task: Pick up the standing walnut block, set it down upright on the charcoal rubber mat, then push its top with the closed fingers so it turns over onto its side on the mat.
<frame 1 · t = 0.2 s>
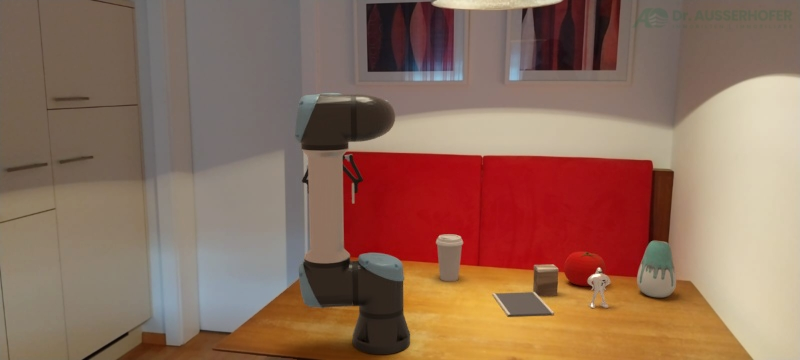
hand: (333, 203, 198), 28 cm above the table, fingers open, 13 cm apart
mat: (521, 304, 182), on the table
vase: (655, 294, 191), on the table
figurine: (597, 306, 181), on the table
block: (545, 293, 192), on the table
tomato: (584, 284, 201), on the table
coffee cup: (449, 279, 207), on the table
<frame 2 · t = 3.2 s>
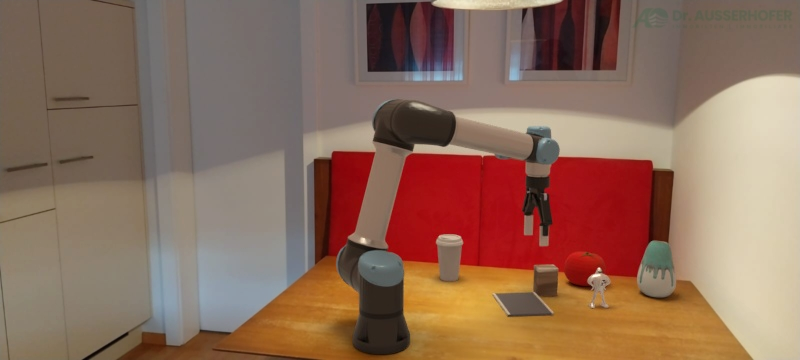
hand: (535, 240, 190), 18 cm above the table, fingers open, 13 cm apart
nothing on the table moved.
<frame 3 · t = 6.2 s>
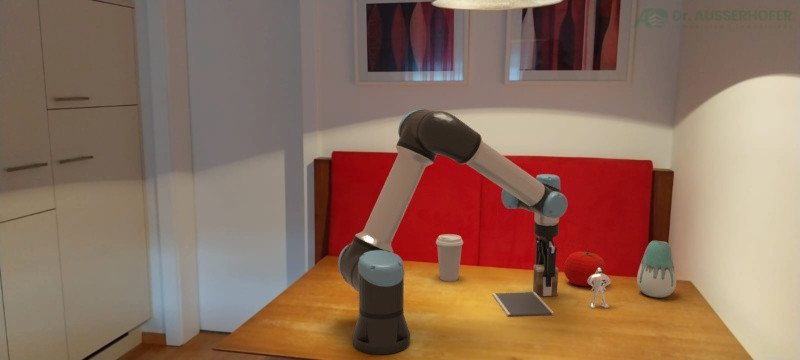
hand: (544, 292, 192), 0 cm above the table, fingers closed on block, 4 cm apart
block: (544, 293, 192), on the table, touching gripper
everything else where it was.
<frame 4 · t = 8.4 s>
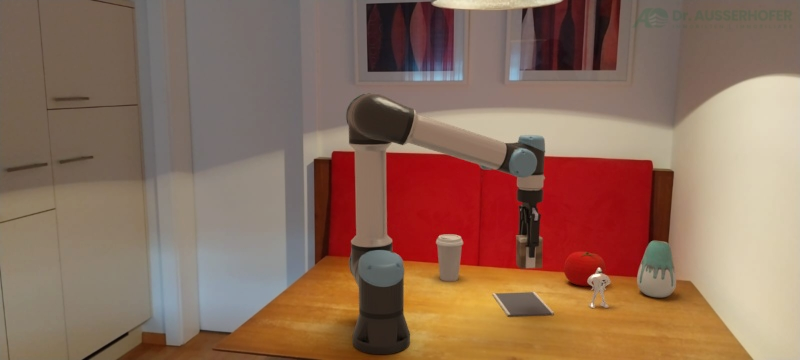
hand: (527, 264, 176), 14 cm above the table, fingers closed on block, 4 cm apart
block: (529, 266, 176), point 14 cm above the table, touching gripper
everything else where it was.
when the fingers open (1 cm above the table, at t = 10.8 s): block stays where it is, resting on mat.
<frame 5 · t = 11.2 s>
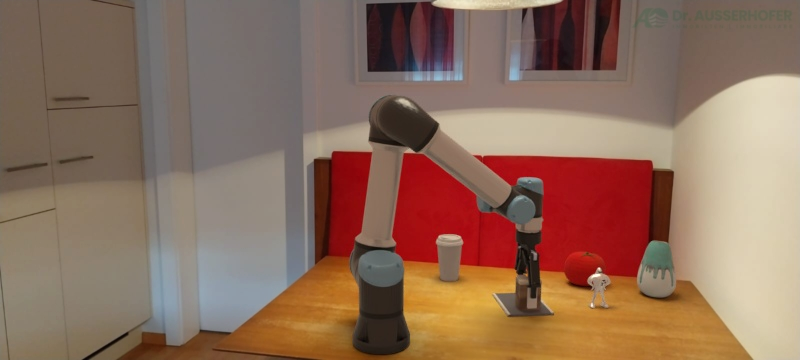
hand: (526, 301, 178), 3 cm above the table, fingers open, 10 cm apart
block: (527, 307, 178), point 1 cm above the table, touching mat
everything else where it was.
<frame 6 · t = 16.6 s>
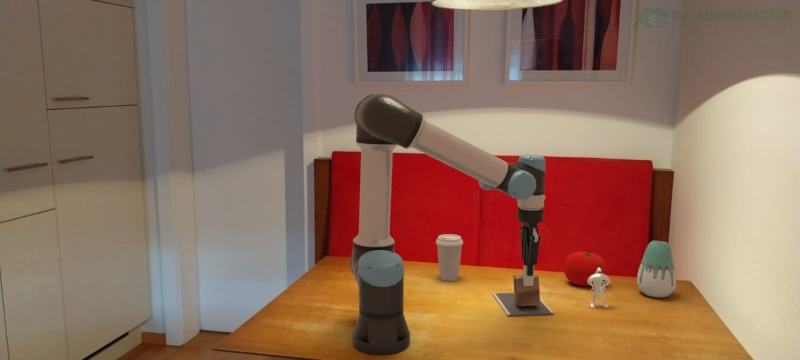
hand: (528, 284, 176), 8 cm above the table, fingers closed
block: (527, 305, 178), point 1 cm above the table, tilted 18°, touching gripper, mat
everything else where it was.
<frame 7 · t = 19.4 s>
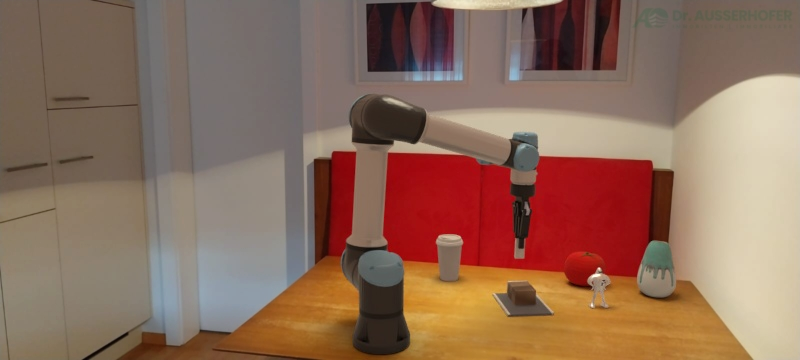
hand: (519, 257, 183), 14 cm above the table, fingers closed
block: (525, 297, 180), point 3 cm above the table, tilted 90°, touching mat
everything else where it was.
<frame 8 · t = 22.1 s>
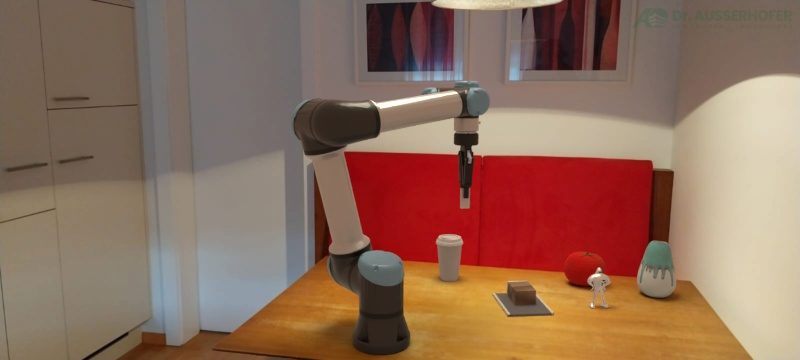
hand: (464, 208, 183), 29 cm above the table, fingers closed
nothing on the table moved.
at the end: block tilted 90°; block inside the target area (3.8 cm from its centre), point 2.8 cm above the table; the gripper is holding nothing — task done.
